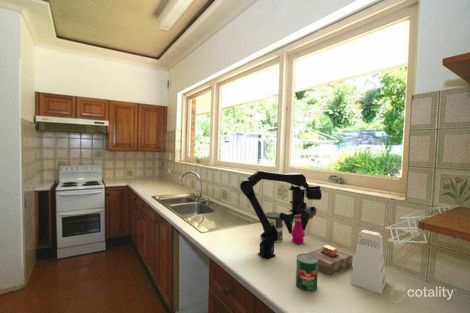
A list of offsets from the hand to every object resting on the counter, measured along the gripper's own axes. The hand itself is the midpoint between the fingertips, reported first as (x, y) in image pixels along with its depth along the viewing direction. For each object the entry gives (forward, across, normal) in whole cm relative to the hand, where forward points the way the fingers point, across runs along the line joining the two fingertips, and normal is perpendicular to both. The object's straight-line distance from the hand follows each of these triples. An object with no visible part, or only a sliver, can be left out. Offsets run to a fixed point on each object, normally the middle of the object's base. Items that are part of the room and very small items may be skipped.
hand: (297, 231), depth 118 cm
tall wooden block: (+11, +6, -14) cm, 19 cm away
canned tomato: (+12, -16, -20) cm, 28 cm away
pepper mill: (+12, +14, +12) cm, 22 cm away
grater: (+12, +7, -31) cm, 34 cm away
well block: (+12, +6, -14) cm, 19 cm away
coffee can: (+12, +5, +22) cm, 26 cm away
